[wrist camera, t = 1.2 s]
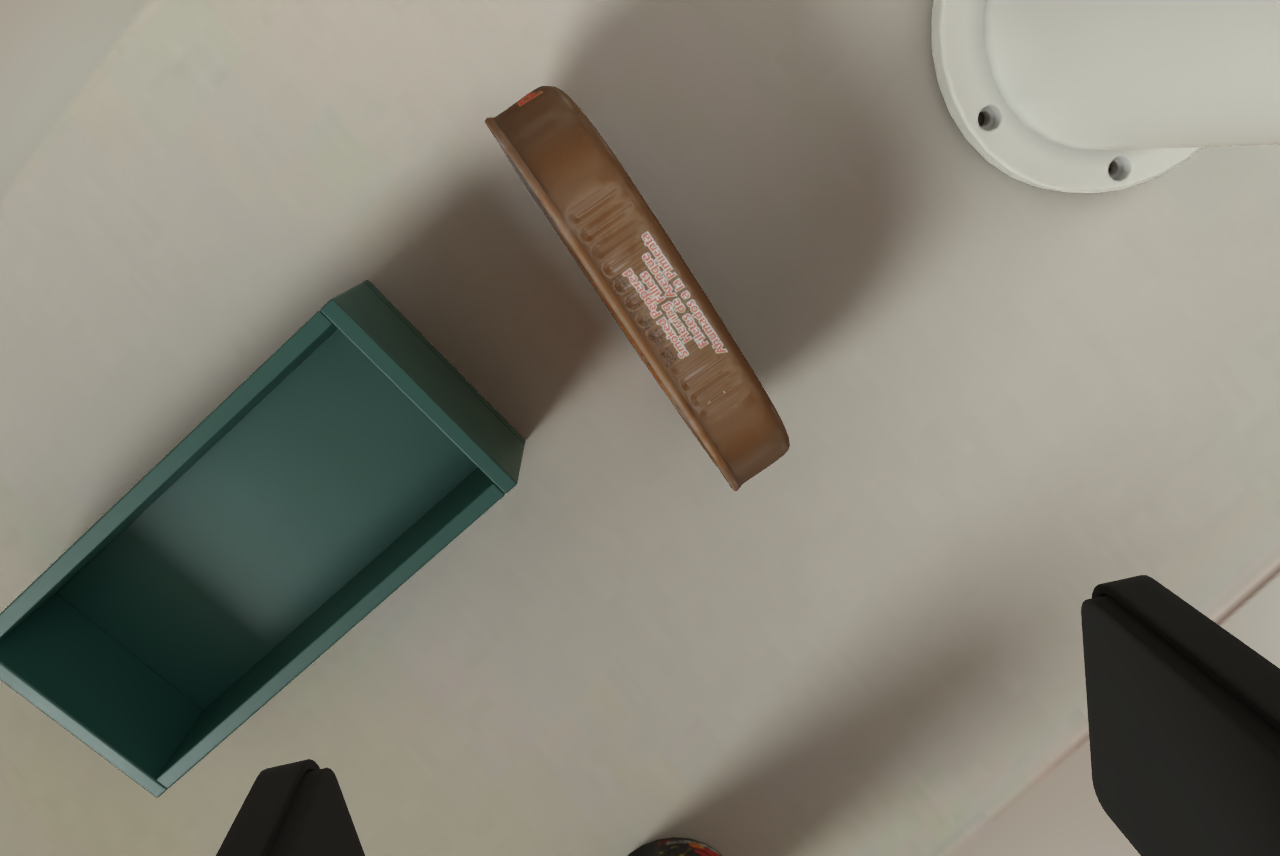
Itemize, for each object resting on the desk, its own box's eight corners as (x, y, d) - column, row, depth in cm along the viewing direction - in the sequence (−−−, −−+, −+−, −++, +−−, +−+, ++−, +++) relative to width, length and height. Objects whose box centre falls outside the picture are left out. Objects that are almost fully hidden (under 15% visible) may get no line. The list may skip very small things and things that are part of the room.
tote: (367, 279, 34) (331, 298, 29) (526, 440, 36) (518, 484, 31) (43, 585, 36) (-40, 650, 31) (210, 718, 38) (156, 799, 34)
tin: (489, 131, 32) (459, 119, 24) (560, 81, 32) (553, 52, 24) (705, 453, 36) (741, 535, 28) (770, 412, 36) (825, 483, 28)
